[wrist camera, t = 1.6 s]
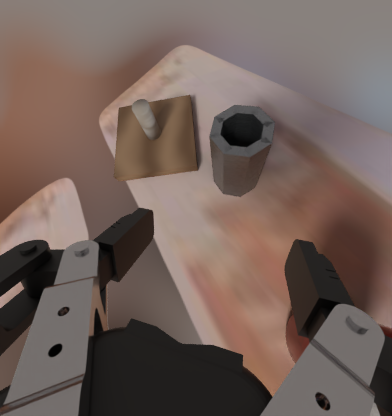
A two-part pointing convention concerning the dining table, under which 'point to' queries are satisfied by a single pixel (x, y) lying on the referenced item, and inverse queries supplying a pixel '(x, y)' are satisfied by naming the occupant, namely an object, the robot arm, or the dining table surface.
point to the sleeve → (240, 147)
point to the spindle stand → (155, 139)
